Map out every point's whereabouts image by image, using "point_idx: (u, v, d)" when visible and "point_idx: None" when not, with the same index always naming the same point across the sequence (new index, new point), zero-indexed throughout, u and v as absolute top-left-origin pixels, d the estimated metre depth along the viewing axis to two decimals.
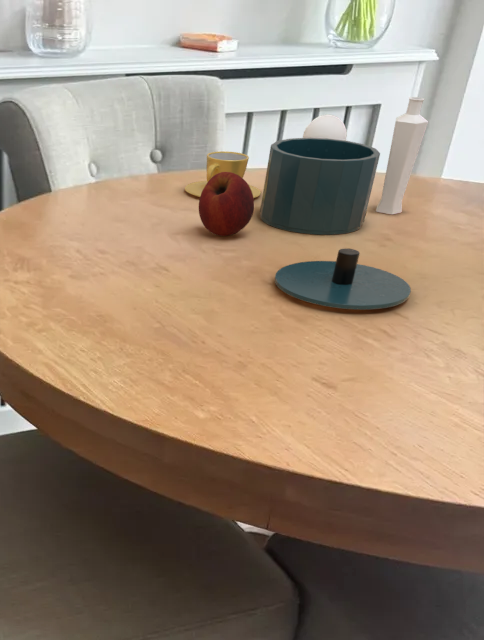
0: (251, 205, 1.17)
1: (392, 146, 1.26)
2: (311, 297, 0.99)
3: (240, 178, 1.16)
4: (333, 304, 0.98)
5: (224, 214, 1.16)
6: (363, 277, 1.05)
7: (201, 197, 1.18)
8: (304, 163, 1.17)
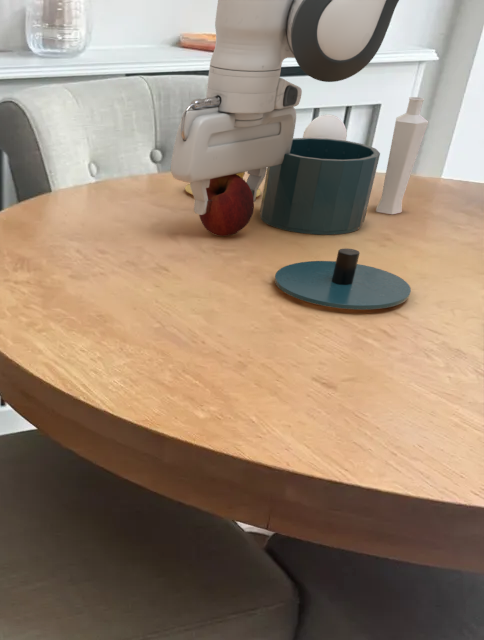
0: (250, 205, 1.17)
1: (392, 146, 1.26)
2: (311, 297, 0.99)
3: (240, 178, 1.16)
4: (333, 304, 0.98)
5: (224, 214, 1.16)
6: (363, 277, 1.05)
7: None
8: (304, 163, 1.17)
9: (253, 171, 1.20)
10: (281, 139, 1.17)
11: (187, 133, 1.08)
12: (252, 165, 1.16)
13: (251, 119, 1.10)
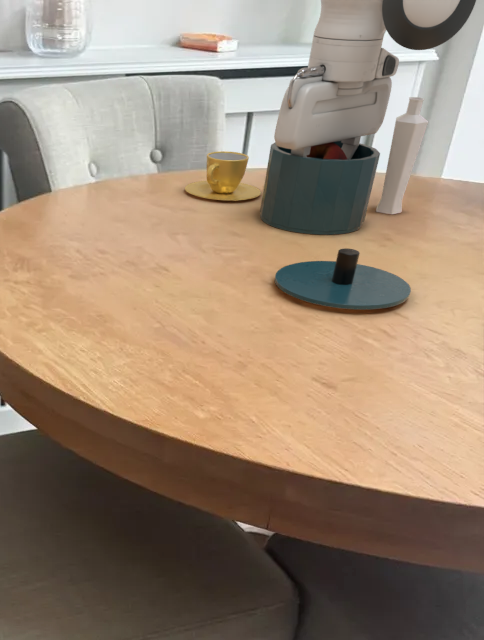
0: None
1: (392, 146, 1.26)
2: (311, 297, 0.99)
3: (337, 146, 1.21)
4: (333, 304, 0.98)
5: None
6: (363, 277, 1.05)
7: None
8: (304, 163, 1.17)
9: (347, 140, 1.24)
10: (376, 108, 1.22)
11: (293, 101, 1.12)
12: (349, 133, 1.21)
13: (353, 88, 1.15)
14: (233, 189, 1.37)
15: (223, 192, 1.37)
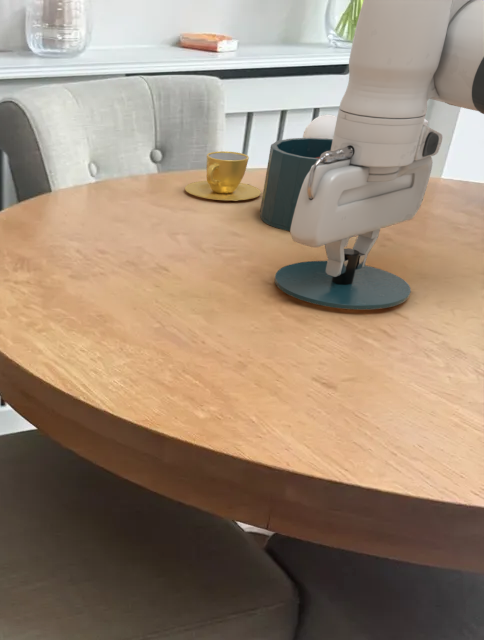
0: None
1: None
2: (311, 297, 0.99)
3: None
4: (333, 304, 0.98)
5: None
6: (363, 277, 1.05)
7: None
8: (304, 163, 1.17)
9: (364, 232, 1.01)
10: (413, 192, 1.00)
11: (315, 191, 0.91)
12: (381, 223, 0.99)
13: (387, 173, 0.93)
14: (233, 189, 1.37)
15: (223, 192, 1.37)
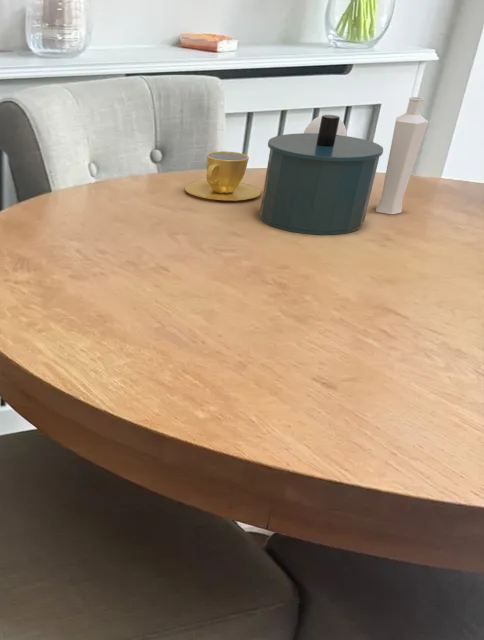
0: None
1: (392, 146, 1.26)
2: (298, 152, 1.17)
3: None
4: (317, 157, 1.16)
5: None
6: (343, 142, 1.23)
7: None
8: (304, 163, 1.17)
9: None
10: None
11: None
12: None
13: None
14: (233, 189, 1.37)
15: (223, 192, 1.37)
